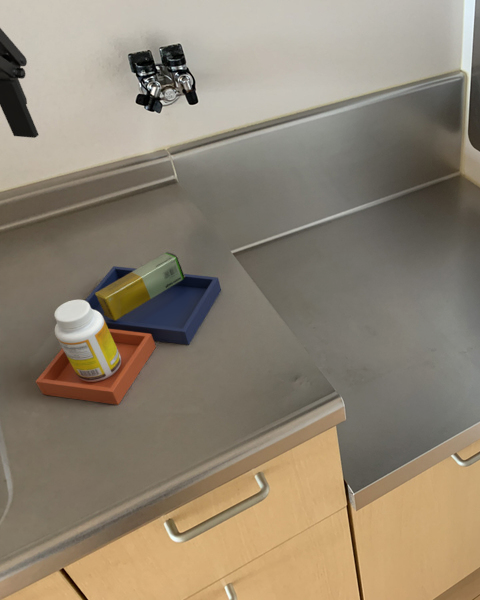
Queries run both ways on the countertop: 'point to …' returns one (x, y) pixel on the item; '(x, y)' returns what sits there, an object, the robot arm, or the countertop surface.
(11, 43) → the robot arm
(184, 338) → the navy tray
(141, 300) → the medication box
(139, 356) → the terracotta tray
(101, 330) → the supplement bottle
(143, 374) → the countertop surface
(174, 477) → the countertop surface
